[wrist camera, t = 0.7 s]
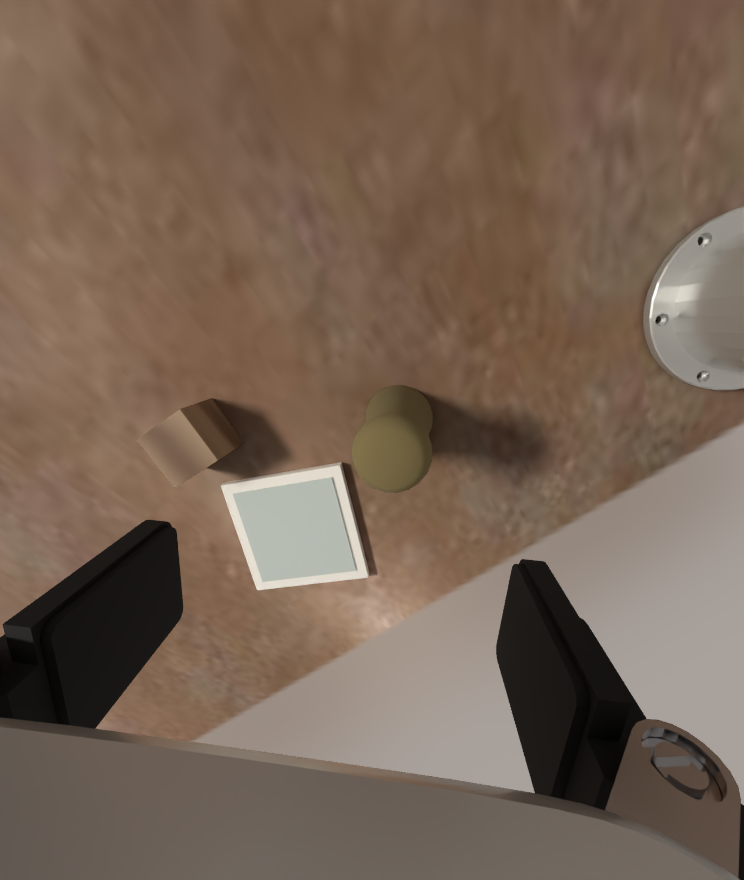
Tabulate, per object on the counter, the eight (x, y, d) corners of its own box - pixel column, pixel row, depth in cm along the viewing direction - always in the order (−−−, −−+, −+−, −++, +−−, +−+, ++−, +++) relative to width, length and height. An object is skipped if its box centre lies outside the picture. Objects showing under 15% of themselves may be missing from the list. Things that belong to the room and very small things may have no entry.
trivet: (341, 462, 35) (339, 465, 34) (369, 572, 38) (368, 578, 37) (224, 482, 37) (219, 486, 36) (260, 585, 40) (256, 591, 39)
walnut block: (212, 398, 35) (179, 409, 30) (244, 442, 36) (217, 460, 31) (173, 425, 36) (136, 439, 31) (205, 467, 37) (174, 488, 32)
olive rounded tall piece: (444, 434, 33) (457, 484, 23) (383, 462, 35) (369, 521, 24) (414, 372, 32) (413, 395, 21) (352, 404, 33) (323, 439, 23)
